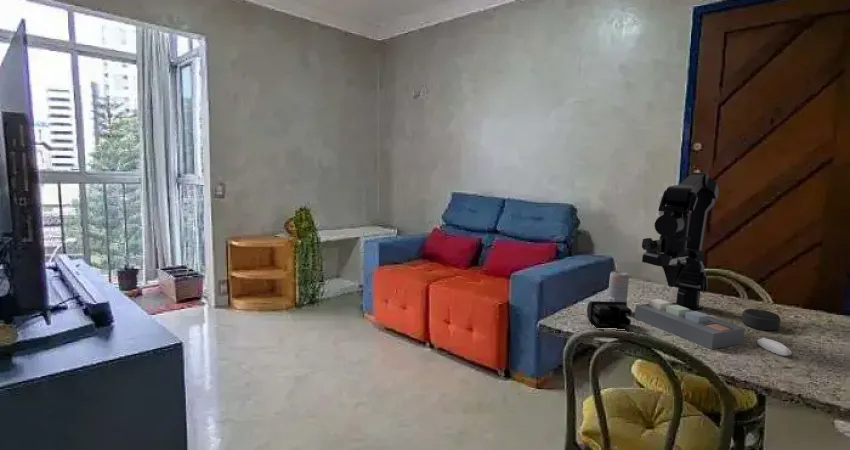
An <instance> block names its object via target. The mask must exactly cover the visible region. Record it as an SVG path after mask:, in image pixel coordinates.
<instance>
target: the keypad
mask: <svg viewBox="0 0 850 450" xmlns="http://www.w3.org/2000/svg"><path fill="white" fill-rule="evenodd" d="M670 303H671V302H670ZM672 303H673V302H672ZM672 303H671V304H670V306H671V305H675V304H672ZM634 310H635V311H634V319H635V320H637V321H640V322H642V323H645V324H647V325H650V326H652V327H655V328H657V329H660V330H662V331H665V332H667V333H669V334H673V335H675V336H677V337H679V338H682V339H684V340H686V341H687V340H688V341H690V342H693V343H695V344H697V345H700V346H703V347H705V348H707V349H710V350H715V349H720V348H724V347H725V348H726V347H730V346H734V345H735V346H736V345H741V344H744V340H745V331H746V328H745V327H743V326H740V325H737V324H734V323H731V322H728V321H725V320H722V319H719V318H715V317H713V316H710V315H709V322H706V323H700V324H699V323H696V322H693V321H690V320H688V319H685V316H676V315H674V314H671V313H668V312H666V309H662V310H660V309H657V308H654V307H651V306H649V303H643V304H635V309H634ZM693 311H694V310H690V309H689V312H693ZM711 324H718V325H721V326H724V327H727V328H730V329H731V330H726V331H718V330H716V329H713V328H710V327H707V326H706V325H711Z"/></svg>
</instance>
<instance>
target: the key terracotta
mask: <svg viewBox="0 0 850 450" xmlns="http://www.w3.org/2000/svg"><path fill="white" fill-rule="evenodd" d="M706 326H707V327H710V328H713V329H716V330H718V331H726V330H731V329H730V328H727V327H724V326H721V325H718V324H711V325H706Z"/></svg>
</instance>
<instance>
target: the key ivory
mask: <svg viewBox="0 0 850 450" xmlns="http://www.w3.org/2000/svg"><path fill="white" fill-rule="evenodd" d="M648 304H649V306H651V307H654V308H657V309H660V310H662V309H666V307H667V306H670V304H671V302H670V301H666V300H664V299H661V298H654V299H649V300H648Z"/></svg>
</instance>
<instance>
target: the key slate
mask: <svg viewBox="0 0 850 450" xmlns="http://www.w3.org/2000/svg"><path fill="white" fill-rule="evenodd" d="M709 316H710V315H709V314H707V313H703V312H700V311H697V310H693V312H686V313H685V319H688V320H690V321H693V322H696V323H699V324H700V323H706V322H709Z"/></svg>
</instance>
